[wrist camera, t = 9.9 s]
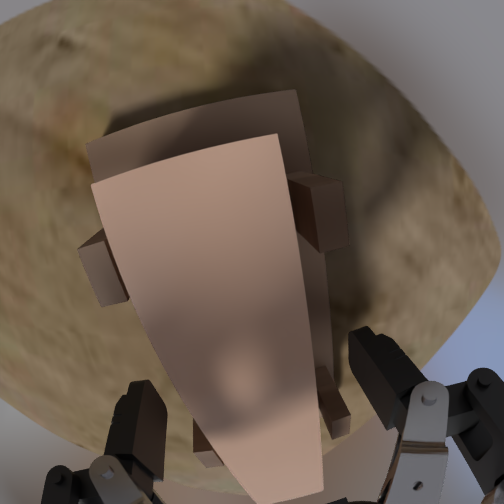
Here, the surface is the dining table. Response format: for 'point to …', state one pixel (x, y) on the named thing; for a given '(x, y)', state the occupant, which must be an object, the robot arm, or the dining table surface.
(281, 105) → the brown cradle stand
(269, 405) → the clay bar
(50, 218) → the dining table surface
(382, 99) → the dining table surface
